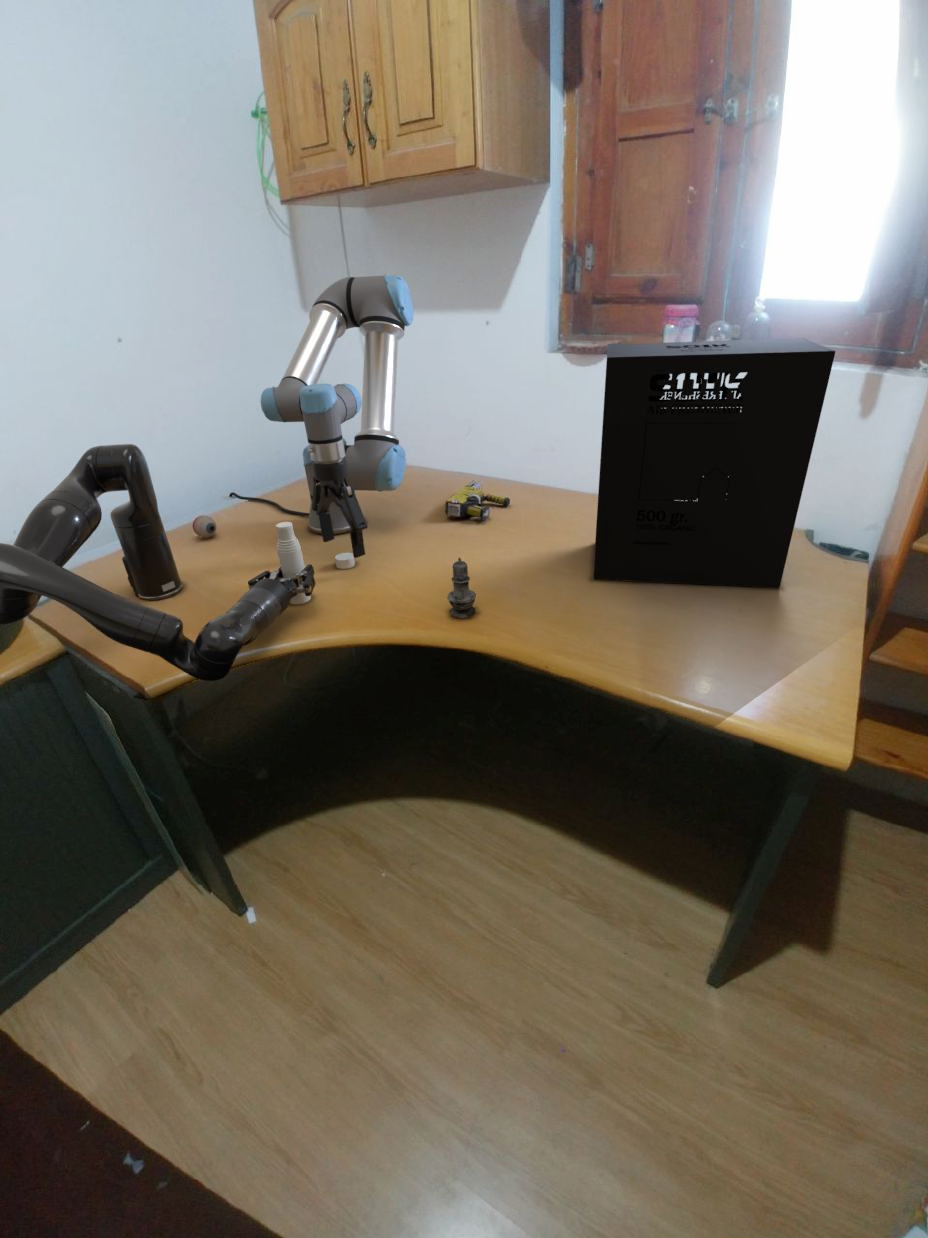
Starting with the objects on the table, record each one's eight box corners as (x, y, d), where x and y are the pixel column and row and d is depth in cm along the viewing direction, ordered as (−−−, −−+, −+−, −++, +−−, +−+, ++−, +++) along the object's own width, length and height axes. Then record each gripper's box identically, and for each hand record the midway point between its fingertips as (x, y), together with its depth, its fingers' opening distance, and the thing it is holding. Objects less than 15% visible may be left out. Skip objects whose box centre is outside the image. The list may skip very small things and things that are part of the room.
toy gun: (518, 485, 181) (471, 478, 185) (495, 509, 161) (443, 500, 165) (516, 500, 184) (470, 493, 188) (494, 525, 164) (442, 517, 168)
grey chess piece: (474, 619, 120) (471, 564, 114) (445, 617, 121) (441, 563, 115) (479, 605, 124) (477, 551, 118) (451, 603, 126) (448, 550, 120)
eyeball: (206, 542, 163) (200, 521, 160) (191, 538, 166) (185, 518, 163) (224, 534, 167) (218, 514, 164) (209, 531, 170) (203, 510, 167)
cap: (338, 561, 148) (337, 552, 147) (356, 560, 148) (355, 552, 146) (334, 569, 144) (332, 560, 143) (353, 568, 144) (351, 559, 142)
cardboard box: (759, 548, 141) (803, 338, 119) (779, 587, 124) (835, 350, 102) (595, 543, 149) (607, 344, 126) (593, 579, 132) (607, 357, 109)
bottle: (310, 592, 134) (295, 518, 125) (311, 602, 130) (296, 526, 121) (288, 596, 133) (271, 522, 124) (289, 606, 129) (271, 530, 120)
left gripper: (233, 620, 119) (273, 581, 134) (299, 624, 117) (333, 584, 131) (223, 586, 116) (266, 550, 130) (292, 590, 113) (327, 552, 127)
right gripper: (286, 453, 139) (304, 538, 150) (344, 474, 123) (359, 568, 134) (315, 446, 143) (330, 529, 154) (374, 465, 127) (387, 557, 138)
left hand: (299, 567), depth 130 cm, fingers closed on bottle, 4 cm apart
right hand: (343, 547), depth 144 cm, fingers open, 13 cm apart
